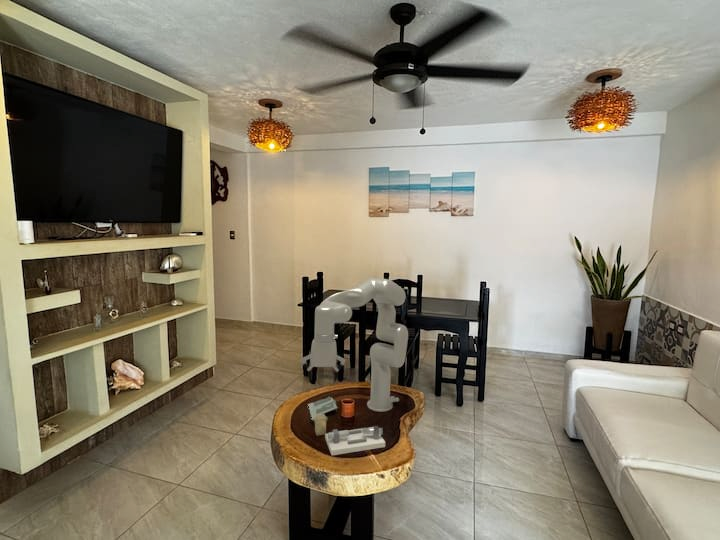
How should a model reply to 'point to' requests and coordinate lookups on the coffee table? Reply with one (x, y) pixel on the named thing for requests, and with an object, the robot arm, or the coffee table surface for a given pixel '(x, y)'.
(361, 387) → the coffee table surface
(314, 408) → the metal bracket
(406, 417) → the coffee table surface
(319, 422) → the coupler
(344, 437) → the shaft mount
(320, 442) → the coffee table surface
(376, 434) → the left shaft
